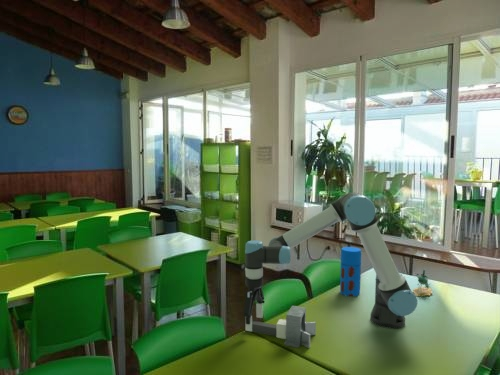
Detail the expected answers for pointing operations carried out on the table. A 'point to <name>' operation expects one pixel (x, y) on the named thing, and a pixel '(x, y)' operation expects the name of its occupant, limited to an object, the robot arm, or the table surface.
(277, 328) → the plug
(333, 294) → the table surface
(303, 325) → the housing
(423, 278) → the frog figurine
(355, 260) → the thermos
